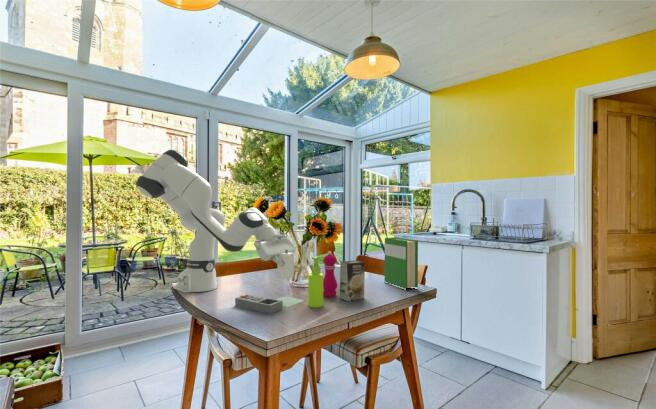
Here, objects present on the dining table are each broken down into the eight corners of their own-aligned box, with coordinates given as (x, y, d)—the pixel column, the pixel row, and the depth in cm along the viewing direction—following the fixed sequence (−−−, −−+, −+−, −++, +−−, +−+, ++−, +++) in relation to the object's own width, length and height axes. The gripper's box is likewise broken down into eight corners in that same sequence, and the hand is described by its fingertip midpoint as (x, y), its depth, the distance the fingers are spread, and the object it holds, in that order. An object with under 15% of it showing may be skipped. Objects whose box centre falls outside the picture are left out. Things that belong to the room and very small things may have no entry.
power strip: (235, 308, 126) (235, 296, 126) (248, 303, 132) (248, 292, 132) (270, 316, 116) (270, 303, 116) (282, 311, 122) (282, 299, 122)
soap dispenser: (328, 307, 128) (328, 256, 129) (315, 310, 123) (315, 258, 124) (317, 303, 132) (318, 255, 133) (305, 307, 128) (305, 257, 128)
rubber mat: (267, 305, 130) (267, 302, 130) (284, 298, 140) (284, 296, 140) (288, 309, 125) (288, 307, 125) (305, 302, 134) (305, 300, 134)
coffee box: (348, 301, 136) (348, 263, 136) (339, 298, 141) (339, 261, 141) (364, 298, 141) (365, 261, 141) (355, 295, 146) (355, 259, 146)
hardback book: (417, 289, 158) (417, 240, 158) (405, 290, 155) (405, 240, 155) (396, 281, 174) (396, 237, 174) (384, 283, 171) (384, 237, 171)
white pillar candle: (278, 278, 131) (279, 249, 131) (283, 276, 135) (284, 248, 135) (288, 279, 129) (289, 250, 129) (293, 277, 133) (293, 249, 134)
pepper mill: (335, 297, 142) (336, 252, 142) (319, 296, 143) (320, 251, 143) (338, 293, 149) (338, 250, 149) (323, 292, 150) (323, 249, 150)
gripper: (256, 235, 127) (276, 263, 122) (287, 232, 144) (305, 256, 140) (247, 246, 129) (266, 273, 124) (279, 242, 147) (296, 265, 142)
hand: (287, 264), depth 132 cm, fingers closed on white pillar candle, 5 cm apart
